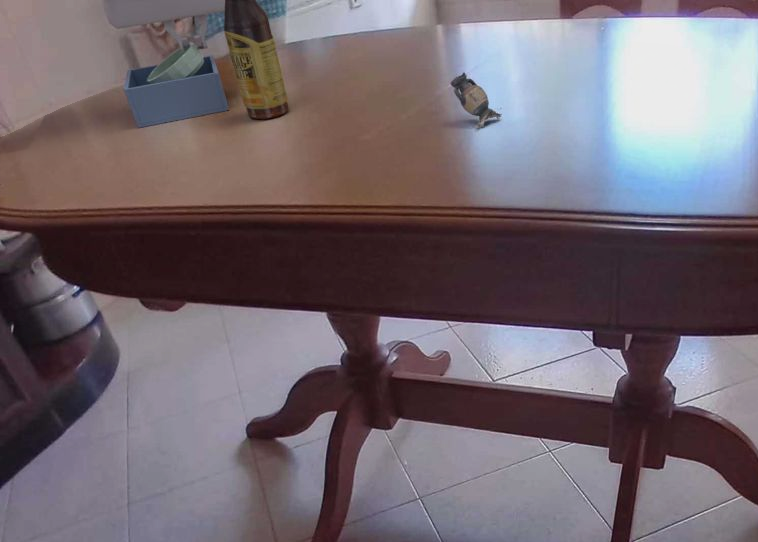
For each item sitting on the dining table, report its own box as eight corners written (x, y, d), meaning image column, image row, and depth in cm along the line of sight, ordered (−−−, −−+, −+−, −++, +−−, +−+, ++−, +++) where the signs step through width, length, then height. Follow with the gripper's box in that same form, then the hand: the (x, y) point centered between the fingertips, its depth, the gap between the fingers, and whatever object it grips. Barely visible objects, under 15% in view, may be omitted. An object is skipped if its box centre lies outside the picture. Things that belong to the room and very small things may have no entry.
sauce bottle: (240, 116, 103) (195, -36, 91) (278, 104, 106) (238, -44, 95) (261, 124, 99) (216, -34, 87) (299, 112, 102) (261, -42, 90)
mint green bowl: (160, 102, 104) (145, 87, 103) (161, 88, 111) (147, 73, 109) (207, 65, 104) (193, 48, 102) (204, 52, 111) (191, 37, 109)
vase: (445, 125, 92) (439, 77, 88) (474, 112, 95) (469, 66, 91) (474, 132, 88) (469, 83, 85) (503, 119, 91) (499, 71, 88)
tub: (138, 128, 103) (123, 90, 100) (140, 105, 113) (127, 69, 110) (229, 110, 106) (218, 72, 103) (223, 89, 117) (213, 54, 113)
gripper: (234, -67, 103) (261, 34, 111) (86, -46, 98) (125, 57, 106) (238, -64, 98) (265, 41, 106) (82, -42, 93) (123, 66, 101)
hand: (194, 49), depth 106 cm, fingers closed on mint green bowl
